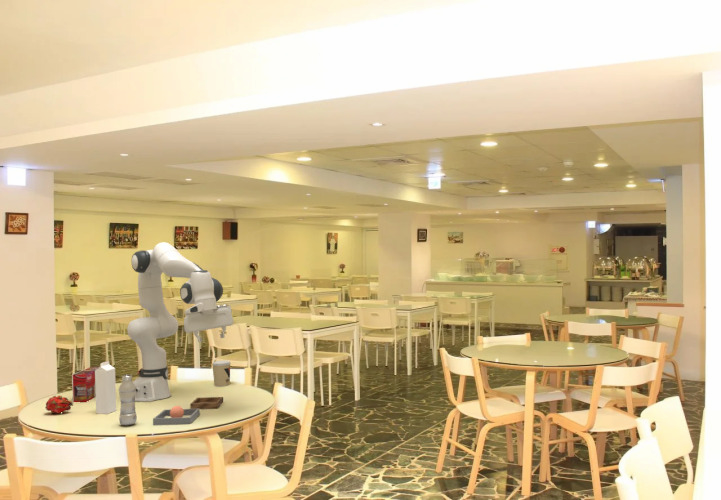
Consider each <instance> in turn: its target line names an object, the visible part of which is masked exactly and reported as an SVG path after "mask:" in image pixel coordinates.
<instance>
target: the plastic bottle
mask: <svg viewBox="0 0 721 500" xmlns="http://www.w3.org/2000/svg"><path fill="white" fill-rule="evenodd" d="M132 375H133V374H123V375H122V376H121V381H122V382H121V384H120V385H119V387H118V393H119V399H120V412H119V416H118V417H119V418H118V421H119V424H120V425H121V426H132V425H134V424H136V422H137V419H138V416H137V412H136V401H135V394H136V386H135V384H134V383H133V381H132V380H133V376H132Z"/></svg>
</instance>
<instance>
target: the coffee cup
mask: <svg viewBox="0 0 721 500" xmlns="http://www.w3.org/2000/svg"><path fill="white" fill-rule="evenodd" d="M212 372H213V374H212V375H213V376H212V377H213V383H214V386H215V387H217V388H219V387H227V386H230V383H231V361H230V360H216V361H213V362H212Z"/></svg>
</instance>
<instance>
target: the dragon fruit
mask: <svg viewBox="0 0 721 500" xmlns="http://www.w3.org/2000/svg"><path fill="white" fill-rule="evenodd" d="M72 407H74V403H73V401H71V400H69V399H68V397H63V396H62V395H53V396H52V397H49V399H47V401H46V402H45V408H44V409H45V410H46V411H48V412H51V414H52V413H54V414H60V413H61V412H63V413H64V412H67V411H70V410H71V409H72Z"/></svg>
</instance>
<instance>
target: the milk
mask: <svg viewBox="0 0 721 500" xmlns="http://www.w3.org/2000/svg"><path fill="white" fill-rule="evenodd" d="M99 364H100V366H98V367H99V368H98V369H96V370H95V390H96V397H95V414H96V413H98V414H99V415H108V414H112V413H115V412H116V411H117V391H116V390H117V389H116V385H117V384H116V368H115V367H114V366H112V365H111V364H110V360H108V361H104V362H101V363H99ZM111 412H112V413H111Z"/></svg>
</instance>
